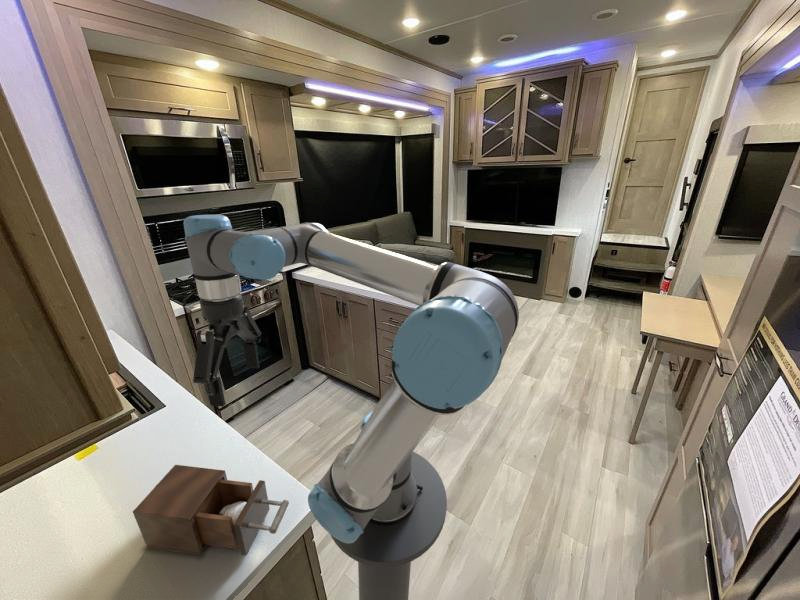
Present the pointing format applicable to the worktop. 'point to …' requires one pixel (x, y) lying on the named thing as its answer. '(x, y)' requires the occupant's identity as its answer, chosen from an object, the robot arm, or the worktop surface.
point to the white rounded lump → (233, 510)
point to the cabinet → (177, 509)
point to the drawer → (249, 521)
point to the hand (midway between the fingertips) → (237, 384)
